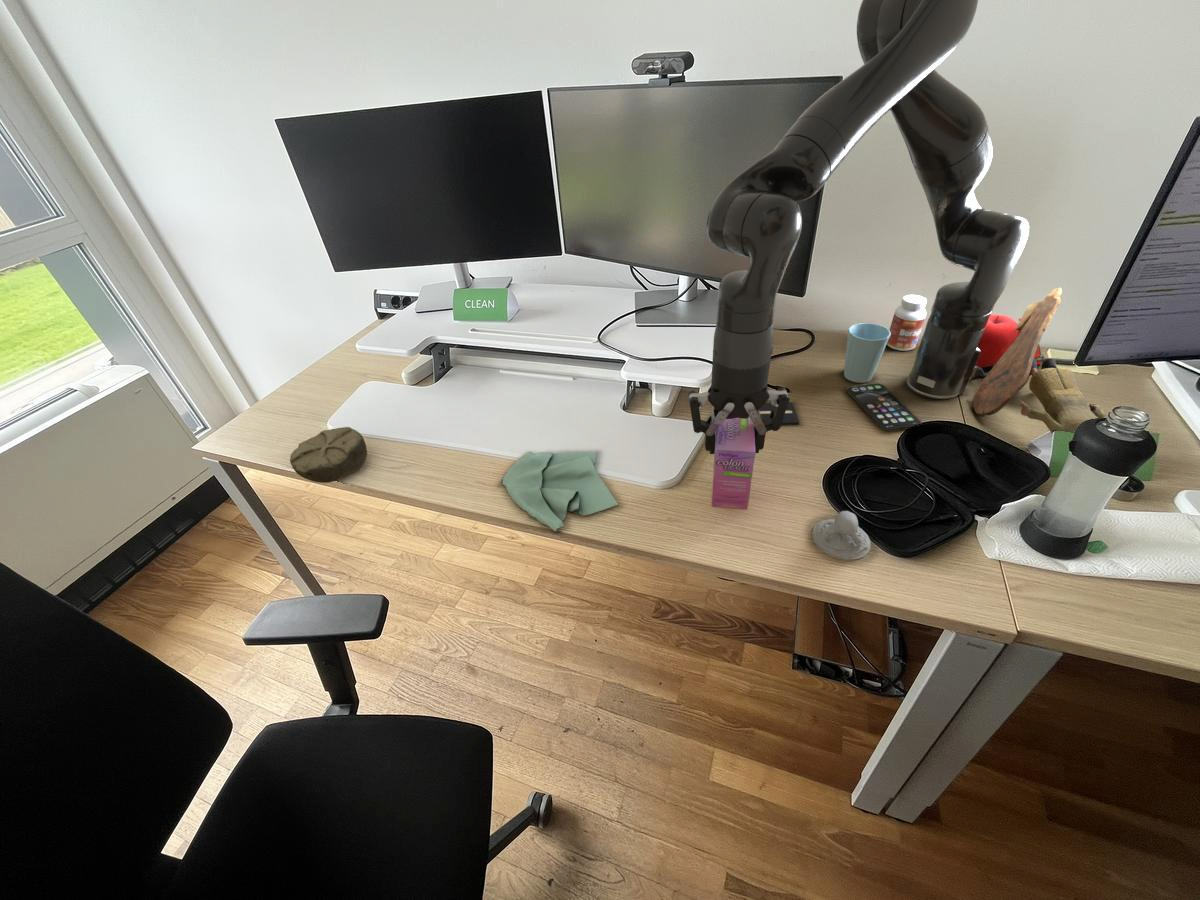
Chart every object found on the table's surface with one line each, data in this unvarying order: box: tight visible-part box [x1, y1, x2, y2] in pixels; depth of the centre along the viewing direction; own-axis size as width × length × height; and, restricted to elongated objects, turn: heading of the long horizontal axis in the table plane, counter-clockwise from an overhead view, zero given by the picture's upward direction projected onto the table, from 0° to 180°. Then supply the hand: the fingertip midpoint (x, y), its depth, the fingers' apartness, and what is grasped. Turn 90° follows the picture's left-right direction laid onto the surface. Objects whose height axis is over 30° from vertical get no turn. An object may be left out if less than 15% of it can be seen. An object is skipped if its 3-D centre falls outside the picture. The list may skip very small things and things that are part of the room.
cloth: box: [501, 451, 619, 532], centre depth 91 cm, size 20×22×2 cm
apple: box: [975, 313, 1020, 368], centre depth 108 cm, size 10×10×11 cm
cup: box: [843, 322, 891, 384], centre depth 108 cm, size 8×8×10 cm
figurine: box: [1019, 357, 1130, 490], centre depth 89 cm, size 11×9×30 cm
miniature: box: [811, 510, 872, 561], centre depth 76 cm, size 8×8×5 cm
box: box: [710, 417, 756, 511], centre depth 81 cm, size 10×6×12 cm, turn 169°
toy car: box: [1018, 317, 1045, 366], centre depth 107 cm, size 12×5×3 cm
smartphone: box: [846, 382, 922, 432], centre depth 102 cm, size 7×1×15 cm
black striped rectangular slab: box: [759, 401, 800, 426], centre depth 103 cm, size 11×7×1 cm, turn 85°
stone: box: [289, 426, 368, 484], centre depth 100 cm, size 13×13×5 cm
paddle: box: [972, 287, 1063, 417], centre depth 99 cm, size 8×3×30 cm
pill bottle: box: [886, 294, 928, 352], centre depth 117 cm, size 6×6×11 cm
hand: (733, 450), depth 80 cm, fingers closed on box, 6 cm apart
